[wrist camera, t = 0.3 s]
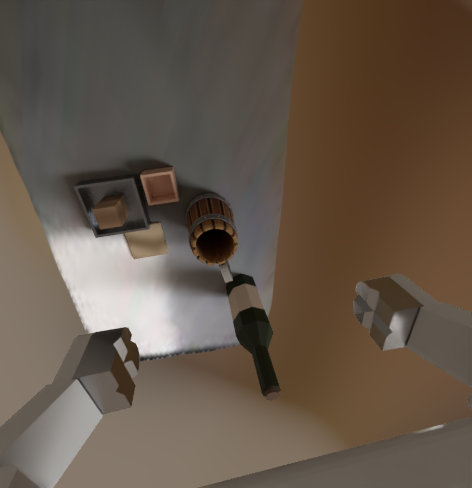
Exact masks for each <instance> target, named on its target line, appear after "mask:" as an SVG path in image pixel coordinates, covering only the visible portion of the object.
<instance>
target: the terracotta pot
mask: <svg viewBox="0 0 472 488" xmlns="http://www.w3.org/2000/svg"><path fill="white" fill-rule="evenodd" d="M140 178H141V181H142V185H143V188H144V191H145V195H146V198H147V202H148V205H149V206H150V205H156V204H163V203H170V202H176V201H179V196H180V194H179V190H178V185H177V181H176V176H175V172H174V167H166V168H159V169H151V170H144V171H143V172H142V173H141V175H140Z"/></svg>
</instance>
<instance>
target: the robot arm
mask: <svg viewBox="0 0 472 488" xmlns="http://www.w3.org/2000/svg"><path fill="white" fill-rule="evenodd" d="M356 291H357V293H358V294H359V295H358V296H357V297H356V298H355V299H354V304H353V309H354V313H355V316H356V318H357V319H358V321H359V322H360V323H361V325H362V326H364V327H366V328H368V329H370V336H371V337H372V339H373V340H374V341H375V342H376V344H377V345H378V346H379V347H380V349H381V350H382V351H385V350H390V349H395V348H400V347H405V346H406V348H407V349H409V350H410V351H412V352H414V353H415V354H417V355H419V356H420V357H422V358H424V359H425V360H427V361H429V362H430V363H432V364H434V365H435V366H437V367H438V368H440V369H442V370H443V371H445V372H447V373H448V374H450V375H451V376H453V377H455V378H456V379H458V380H460V381H461V382H463V383H465V384H466V385H468V386H469V387H471V388H472V312H470V311H467V310H464V309H461V308H459V307H456V306H453V305H450V304H447V303H445V302H444V303H439V302H437V301H436V300H435V299H434V298H432V297H431V296H430V295H429V294H427V293H426V292H425V291H423V290H422V289H421V288H420V287H418V286H417V285H416V284H414V283H413V282H412V281H411V280H409V279H408V278H407V277H405V276H404V275H401V274H395V275H390V276H386V277H381V278H376V279H371V280H366V281H361V282H359V283H358V284H357V287H356ZM131 336H132V334H131V332H130V330H129V328H126V327H124V328H118V329H112V330H106V331H100V332H95V333H91V334H85V335H79V336H78V337H76V338H75V339H74V341H73V343H72V345H71V347H70V349H69V351H68V353H67V355H66V357H65V359H64V361H63V363H62V365H61V367H60V369H59V371H58V373H57V375H56V377H55V379H54V381H53V383H52V384H50V385H46V386H45V387H44V388H43V389H42V390H41V391H40V392H38V393H37V394H36V395H35V396H34V397H33V398H32V399H31V400H30V401H29V402H28V403H26V404H25V405H24V406H23V407H22V408H21V409H20V410H19V411H18V412H17V413H15V414H14V415H13V416H12V417H11V418H10V419H9V420H8V421H7V422H5V423H4V424H3V425H2V426H1V427H0V488H53V487H54V486H55V484H56V483H57V481H58V480H59V479H60V477H61V476H62V474H63V473H64V471H65V470H66V469H67V467H68V466H69V464H70V463H71V461H72V460H73V458H74V457H75V455H76V454H77V453H78V451H79V450H80V448H81V447H82V446H83V444H84V442H85V441H86V440H87V438H88V437H89V435H90V434H91V433H92V431H93V430H94V428H95V427H96V425H97V424H98V422H99V421H100V419H101V418H102V417H103V415H102V414H106V413H110V412H114V411H118V410H122V409H126V408H130V407H131V406H132V401H133V396H134V391H135V384H134V382H133V380H132V379H133V378H134V377H135V376H136V374H137V373H138V369H139V351H138V348H137V345H136V343H134V342H132V341H130V340H131ZM467 405H469V407H470V408H471V409H472V393H471V395H470V396H469V398H468V404H467ZM199 488H472V417H469V418H465V419H461V420H457V421H453V422H449V423H446V424H442V425H438V426H434V427H430V428H426V429H423V430H419V431H415V432H411V433H407V434H403V435H399V436H396V437H391V438H388V439H384V440H380V441H376V442H372V443H369V444H365V445H361V446H357V447H353V448H349V449H345V450H341V451H337V452H334V453H330V454H326V455H322V456H318V457H314V458H311V459H307V460H303V461H299V462H295V463H291V464H287V465H283V466H280V467H276V468H272V469H269V470H265V471H260V472H256V473H253V474H249V475H245V476H241V477H237V478H233V479H230V480H226V481H222V482H218V483H214V484H210V485H207V486H203V487H199Z"/></svg>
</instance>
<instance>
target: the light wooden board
mask: <svg viewBox="0 0 472 488" xmlns="http://www.w3.org/2000/svg"><path fill="white" fill-rule="evenodd" d="M125 236H126V238H127V241H128V244H129V247H130V249H131V252H132V255H133V257H134V259H138V258H144V257H150V256H156V255H162V254H167V253H168V248H167V245H166V241H165V238H164V234H163V230H162V227H161V223H160V222H157V223H151V225H150V229H148V230H141V231H135V232H129V233H125Z"/></svg>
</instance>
